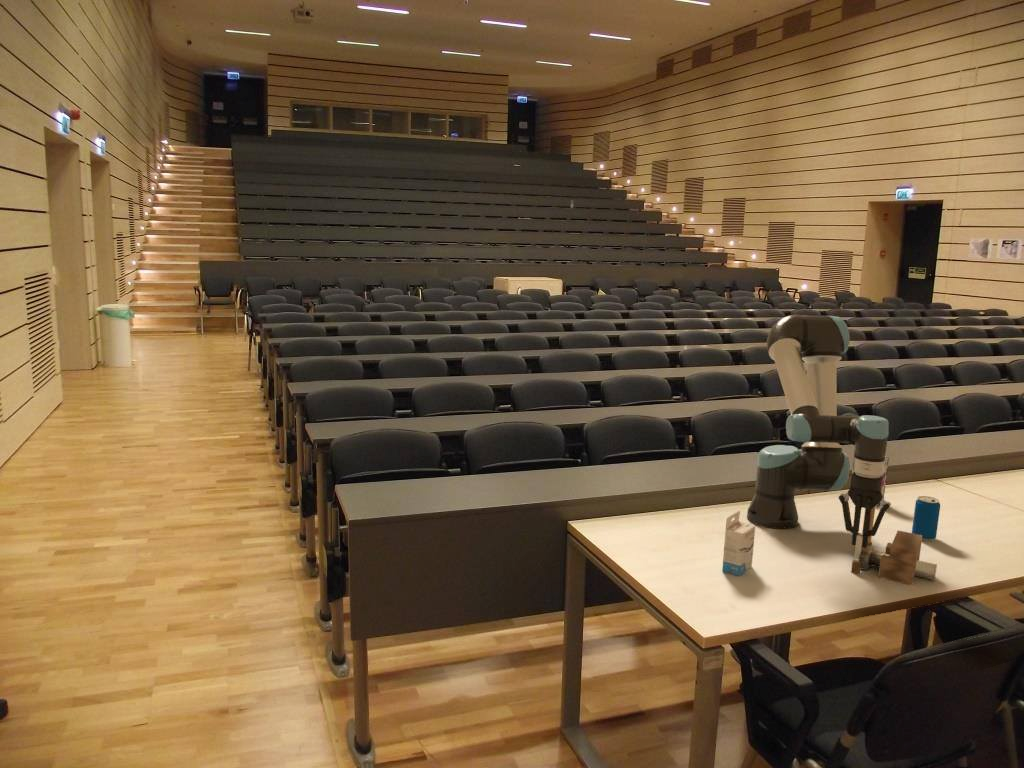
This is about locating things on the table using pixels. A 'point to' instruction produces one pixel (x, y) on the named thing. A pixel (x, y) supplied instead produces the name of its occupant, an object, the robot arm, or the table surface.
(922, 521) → the beverage can
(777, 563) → the table surface
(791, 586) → the table surface
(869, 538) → the bar
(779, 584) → the table surface
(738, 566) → the ink box
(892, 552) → the hitch block
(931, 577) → the pin
